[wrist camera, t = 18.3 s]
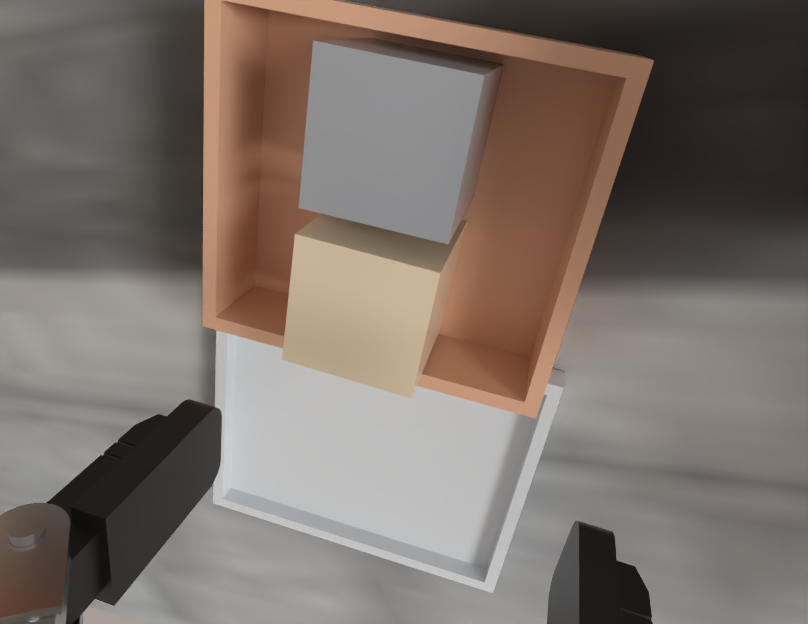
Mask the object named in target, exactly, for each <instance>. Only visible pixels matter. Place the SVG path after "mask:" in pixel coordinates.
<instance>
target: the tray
mask: <svg viewBox="0 0 808 624" xmlns="http://www.w3.org/2000/svg"><path fill="white" fill-rule="evenodd" d="M282 354H283V349H282V348H279V347H275V346H272V345H268V344H264V343H261V342H257V341H254V340H250V339H246V338H243V337H239V336H236V335H232V334H228V333H225V332H221V331H217V330H216V369H215V407H216V408H219V409H220V410H221V413H222V436H221V463H220V468H219V471H218V474H217V476H216V478H215V480H214V482H213V503H214V504H217V505H220V506H223V507H226V508H229V509H232V510H235V511H239V512H242V513H245V514H248V515H251V516H254V517H257V518H260V519H263V520H266V521H270V522H273V523H276V524H279V525H282V526H285V527H288V528H291V529H294V530H298V531H301V532H304V533H307V534H310V535H313V536H316V537H319V538H322V539H326V540H329V541H332V542H335V543H338V544H341V545H344V546H347V547H350V548H353V549H357V550H360V551H363V552H366V553H369V554H372V555H375V556H378V557H381V558H385V559H388V560H391V561H394V562H397V563H400V564H403V565H406V566H409V567H413V568H416V569H419V570H422V571H425V572H428V573H431V574H434V575H437V576H440V577H444V578H447V579H450V580H453V581H456V582H459V583H462V584H465V585H468V586H472V587H475V588H478V589H481V590H484V591H487V592H490V593H493V591H494V589H495V586H496V583H497V580H498V577H499V574H500V571H501V568H502V566H503V563H504V560H505V557H506V554H507V551H508V548H509V545H510V542H511V540H512V537H513V534H514V531H515V528H516V525H517V522H518V519H519V517H520V514H521V511H522V508H523V505H524V502H525V499H526V496H527V494H528V491H529V488H530V485H531V482H532V479H533V476H534V473H535V470H536V468H537V465H538V462H539V459H540V456H541V453H542V450H543V447H544V445H545V442H546V439H547V436H548V433H549V430H550V427H551V424H552V422H553V419H554V416H555V413H556V410H557V407H558V404H559V401H560V399H561V396H562V393H563V390H564V371H560V370H556V369H553V368H552V371H551V374H550V378H549V381H548V384H547V387H546V390H545V393H544V396H543V399H542V402H541V405H540V408H539V411H538V414H537V417H536V419H535V418H531V417H528V416H524V415H521V414H517V413H513V412H510V411H506V410H503V409H499V408H495V407H492V406H488V405H485V404H481V403H477V402H474V401H470V400H467V399H463V398H459V397H456V396H452V395H448V394H445V393H441V392H438V391H434V390H430V389H427V388H423V387H420V386H416V389H415V391H414V394H413V396H412V398H408V397H404V396H401V395H398V394H394V393H391V392H388V391H384V390H381V389H378V388H374V387H371V386H368V385H364V384H361V383H358V382H354V381H351V380H348V379H344V378H341V377H338V376H334V375H331V374H328V373H324V372H321V371H318V370H314V369H311V368H308V367H304V366H301V365H298V364H294V363H291V362H288V361H284V360H282Z"/></svg>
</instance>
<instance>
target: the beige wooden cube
mask: <svg viewBox="0 0 808 624" xmlns="http://www.w3.org/2000/svg"><path fill="white" fill-rule="evenodd" d="M466 224H467V221H466V220H461V222H460V224H459V226H458V227H457V229H456V231H455V233H454V235H453V237H452V239H451V240H450V242H449V244H444V243H440V242H436V241H432V240H428V239H424V238H420V237H415V236H411V235H407V234H403V233H399V232H395V231H391V230H387V229H383V228H379V227H375V226H371V225H366V224H362V223H358V222H354V221H350V220H346V219H342V218H338V217H334V216H330V215H326V214H321V215H319V216H318V217H317V218H315V219H314V220H313V221H311V222H310V223H309V224H308V225H306V226H305V227H304V228H302V229H301V230H300V231H298V232H297V233H296V234H295V239H294V248H293V258H292V268H291V277H290V287H289V296H288V306H287V316H286V325H285V335H284V345H283V354H282V360H284V361H288V362H291V363H294V364H298V365H301V366H304V367H308V368H311V369H314V370H318V371H321V372H324V373H328V374H331V375H334V376H338V377H341V378H344V379H348V380H351V381H354V382H358V383H361V384H364V385H368V386H371V387H374V388H378V389H381V390H384V391H388V392H391V393H394V394H398V395H401V396H404V397H408V398H412V396H413V394H414V391H415V389H416V386H417V384H418V382H419V379H420V377H421V374H422V372H423V369H424V367H425V365H426V362H427V360H428V357H429V355H430V353H431V350H432V348H433V345H434V343H435V341H436V338H437V336H438V333H439V331H440V328H441V326H442V322H443V318H444V314H445V310H446V306H447V301H448V297H449V293H450V289H451V285H452V281H453V277H454V273H455V269H456V265H457V261H458V256H459V252H460V248H461V244H462V240H463V236H464V232H465V228H466Z"/></svg>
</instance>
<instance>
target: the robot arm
mask: <svg viewBox="0 0 808 624" xmlns="http://www.w3.org/2000/svg"><path fill="white" fill-rule="evenodd" d="M221 436H222V413H221V410H220V409H219V408H216V407H212V406H209V405H206V404H203V403H199V402H196V401H193V400H185V401H184V402H182V403H181V404H180V405H179V406H178V407H177V408H176V409H175V410H174V411H173V412H172V413H170V414H169V415H168V416H167V417H166V416H163V415H160V414H158V415H156V416H153V417H151V418H149V419H147V420H145V421H142V422H140V423H138V424H136V425H135V426H133V427H132V428H131V429H130V430H129V431H128V432H127V433H125V434H124V435H123V436H122V437H121V438H120V439H119V440H118V442H117V443H114V444H113V445H112V446H111V447H110V448H108V449H107V450H106V451H105V452H104V455H103V456H102V455H101V456H99V457H98V458H97V459H96V460H95V461H94V462H93V463H91V464H90V465H89V466H88V467H87V468H86V469H85V470H84V471H82V472H81V473H80V474H79V475H78V476H77V477H76V478H74V479H73V480H72V481H71V482H70V483H69V484H68V485H66V486H65V487H64V488H63V489H62V490H61V491H60V492H59V493H57V494H56V495H55V496H54V497H53V498H52V499H51V500H49V501H48V502H47V503H32V504H27V505H22V506H19V507H16V508H14V509H11V510H9V511H7V512H5V513H3V514H1V515H0V624H83V612H84V611H85V609H86V608H87V607H88V606H89V605H90V604H91V602H92V601H93V600H94V599H97V600H100V601H103V602H105V603H108V604H111V605H113V606H114V605H115V604H116V603H117V602H118V600H119V599H120V598H121V597H122V595H123V594H124V593H125V592H126V591H127V589H128V588H129V587H130V586H131V584H132V583H133V582H134V581H135V579H136V578H137V577H138V576H139V575H140V573H141V572H142V571H143V570H144V568H145V567H146V566H147V565H148V563H149V562H150V561H151V560H152V559H153V557H154V556H155V555H156V554H157V552H158V551H159V550H160V549H161V547H162V546H163V545H164V544H165V543H166V541H167V540H168V539H169V538H170V536H171V535H172V534H173V533H174V531H175V530H176V529H177V528H178V527H179V525H180V524H181V523H182V522H183V520H184V519H185V518H186V517H187V515H188V514H189V513H190V512H191V511H192V509H193V508H194V507H195V506H196V504H197V503H198V502H199V501H200V499H201V498H202V497H203V496H204V495H205V493H206V492H207V491H208V490H209V488H210V487H211V486H212V484H213V482H214V480H215V478H216V476H217V474H218V471H219V468H220V463H221ZM651 617H652V615H651V607H650V599H649V592H648V590H647V588H646V586H645V584H644V582H643V580H642V579H641V577H640V575H639V573H638V571H637V569H636V567H635V566H631V565H628V564H625V563H622V562H619V561H616V548H615V536H614V533H613V532H612V531H609V530H605V529H602V528H599V527H596V526H592V525H589V524H586V523H583V522H580V521H575V523H574V524H573V526H572V529H571V531H570V534H569V536H568V539H567V541H566V544H565V546H564V549H563V551H562V554H561V556H560V559H559V561H558V564H557V566H556V569H555V571H554V575H553V578H552V582H551V587H550V592H549V600H548V618H547V624H653V623H652V621H651Z"/></svg>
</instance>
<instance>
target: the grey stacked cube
mask: <svg viewBox="0 0 808 624" xmlns="http://www.w3.org/2000/svg"><path fill="white" fill-rule="evenodd" d="M503 66H504V64H500V63H495V62H490V61H485V60H480V59H475V58H470V57H465V56H460V55H455V54H450V53H445V52H440V51H435V50H430V49H425V48H420V47H415V46H410V45H405V44H400V43H395V42H390V41H385V40H380V39H375V38H361V39H338V40H316V41H313V50H312V61H311V73H310V84H309V95H308V107H307V118H306V130H305V141H304V153H303V164H302V175H301V187H300V198H299V208H301V209H305V210H309V211H313V212H317V213H322V214H326V215H330V216H334V217H338V218H342V219H346V220H350V221H354V222H358V223H362V224H366V225H371V226H375V227H379V228H383V229H387V230H391V231H395V232H399V233H403V234H407V235H411V236H415V237H420V238H424V239H428V240H432V241H436V242H440V243H444V244H449V242H450V240H451V239H452V237H453V235H454V233H455V231H456V229H457V227H458V226H459V224H460V222H461V220H462V218H463V216H464V214H465V213H466V211H467V209H468V207H469V205H470V203H471V202H472V200H473V198H474V194H475V190H476V185H477V181H478V177H479V172H480V168H481V163H482V159H483V154H484V150H485V146H486V141H487V137H488V132H489V128H490V124H491V119H492V115H493V110H494V106H495V102H496V97H497V93H498V88H499V84H500V80H501V75H502V71H503Z"/></svg>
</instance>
